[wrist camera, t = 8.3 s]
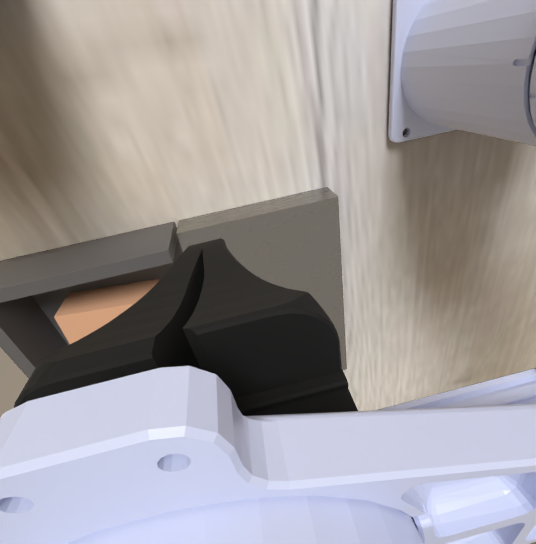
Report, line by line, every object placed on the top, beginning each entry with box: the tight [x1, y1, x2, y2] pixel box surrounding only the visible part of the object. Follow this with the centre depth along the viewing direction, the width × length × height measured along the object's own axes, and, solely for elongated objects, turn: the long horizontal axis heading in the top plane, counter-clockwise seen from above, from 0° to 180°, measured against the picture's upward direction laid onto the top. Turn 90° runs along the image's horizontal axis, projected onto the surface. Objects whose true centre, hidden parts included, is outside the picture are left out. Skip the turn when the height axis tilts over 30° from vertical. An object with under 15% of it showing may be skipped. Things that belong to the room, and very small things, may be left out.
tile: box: [54, 279, 159, 344], centre depth 22 cm, size 6×6×2 cm
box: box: [0, 222, 183, 378], centre depth 23 cm, size 11×16×4 cm
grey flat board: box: [176, 187, 347, 370], centre depth 24 cm, size 10×16×2 cm, turn 10°
